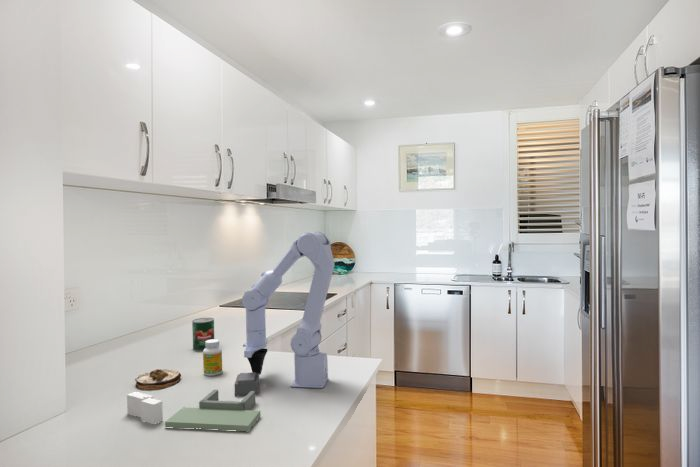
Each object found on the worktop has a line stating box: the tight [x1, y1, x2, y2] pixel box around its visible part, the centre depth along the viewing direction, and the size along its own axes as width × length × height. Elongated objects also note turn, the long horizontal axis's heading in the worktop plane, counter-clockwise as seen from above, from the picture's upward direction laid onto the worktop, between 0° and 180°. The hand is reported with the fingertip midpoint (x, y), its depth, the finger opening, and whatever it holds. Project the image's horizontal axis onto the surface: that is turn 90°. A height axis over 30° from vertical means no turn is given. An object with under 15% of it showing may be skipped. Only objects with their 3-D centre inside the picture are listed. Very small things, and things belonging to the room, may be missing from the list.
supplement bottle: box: [202, 338, 223, 377], centre depth 140 cm, size 6×6×10 cm
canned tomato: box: [191, 317, 215, 353], centre depth 167 cm, size 8×8×11 cm
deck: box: [164, 389, 261, 433], centre depth 109 cm, size 20×16×3 cm
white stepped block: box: [126, 391, 164, 425], centre depth 107 cm, size 15×11×6 cm
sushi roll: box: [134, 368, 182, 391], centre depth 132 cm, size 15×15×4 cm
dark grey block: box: [234, 371, 260, 397], centre depth 125 cm, size 6×8×4 cm
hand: (257, 374), depth 133 cm, fingers closed
